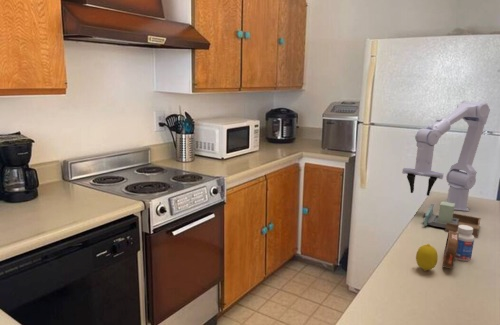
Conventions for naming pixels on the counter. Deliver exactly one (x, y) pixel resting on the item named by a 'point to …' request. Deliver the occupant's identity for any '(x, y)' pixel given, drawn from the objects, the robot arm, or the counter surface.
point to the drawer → (435, 219)
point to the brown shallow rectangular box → (464, 223)
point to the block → (446, 212)
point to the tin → (450, 249)
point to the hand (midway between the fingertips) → (419, 193)
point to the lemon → (426, 257)
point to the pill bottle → (464, 243)
